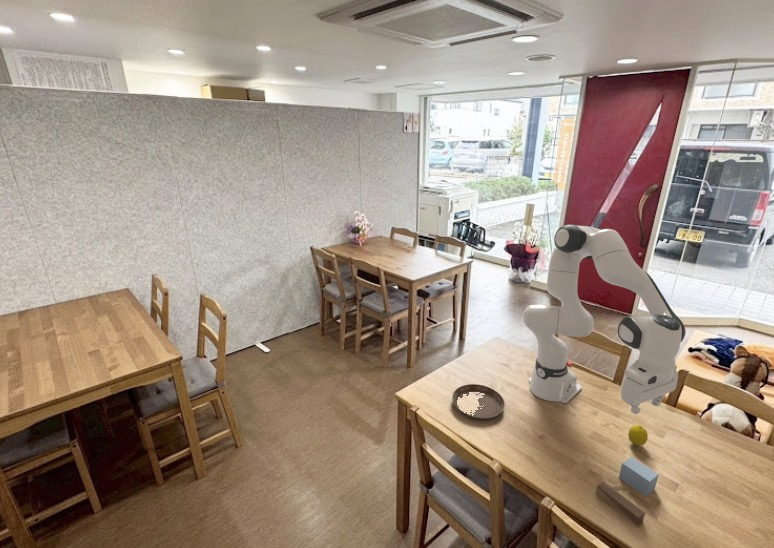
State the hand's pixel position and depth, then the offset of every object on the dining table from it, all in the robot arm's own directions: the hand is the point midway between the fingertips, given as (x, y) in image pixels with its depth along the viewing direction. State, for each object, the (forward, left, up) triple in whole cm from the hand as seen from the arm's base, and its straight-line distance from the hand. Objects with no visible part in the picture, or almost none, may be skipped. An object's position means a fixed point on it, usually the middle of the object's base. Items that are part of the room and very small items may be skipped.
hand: (645, 408), depth 116 cm
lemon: (-11, -5, -23) cm, 26 cm away
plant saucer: (+22, -49, -24) cm, 58 cm away
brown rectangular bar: (+18, +6, -23) cm, 30 cm away
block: (+5, +4, -23) cm, 24 cm away
